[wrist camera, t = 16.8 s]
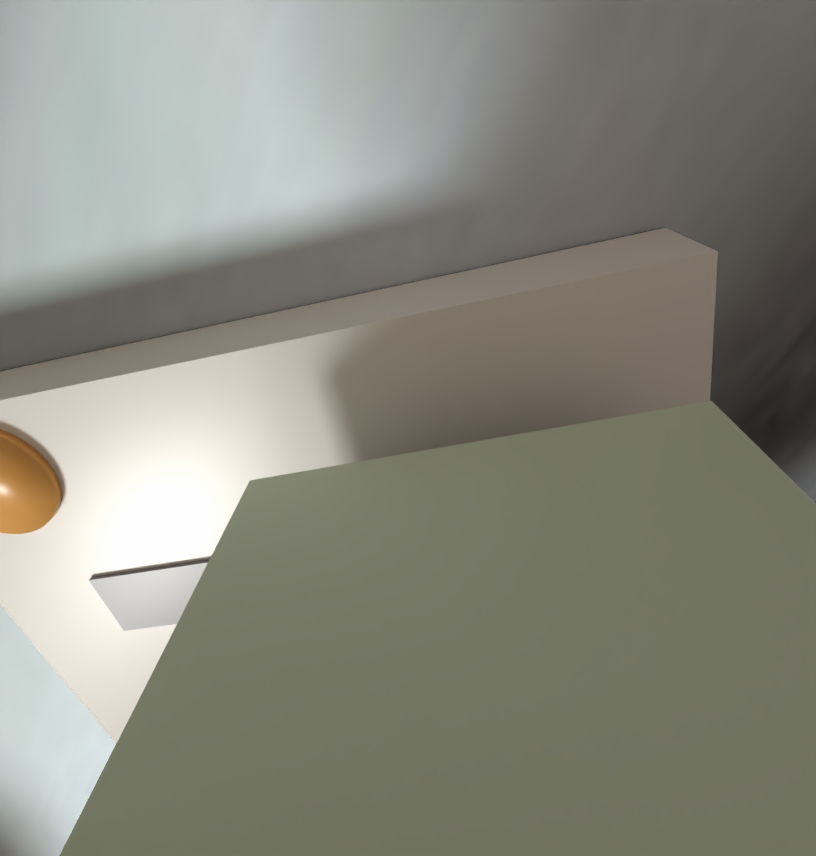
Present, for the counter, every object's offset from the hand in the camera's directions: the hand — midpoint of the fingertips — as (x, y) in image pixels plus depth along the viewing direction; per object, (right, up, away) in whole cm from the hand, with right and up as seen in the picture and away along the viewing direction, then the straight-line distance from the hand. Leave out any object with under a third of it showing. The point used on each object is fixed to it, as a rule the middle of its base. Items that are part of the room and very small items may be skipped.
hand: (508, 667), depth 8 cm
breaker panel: (-2, -3, +7) cm, 8 cm away
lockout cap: (0, +1, +1) cm, 1 cm away
